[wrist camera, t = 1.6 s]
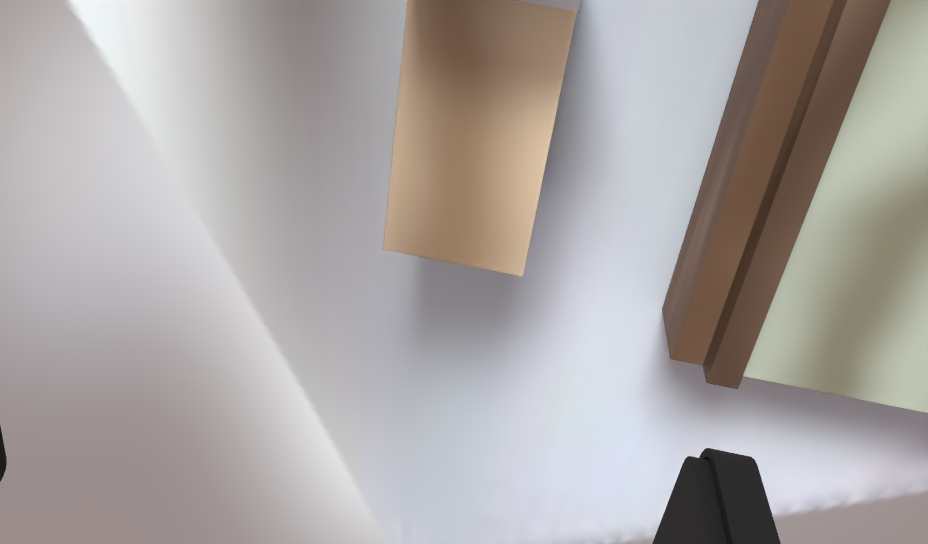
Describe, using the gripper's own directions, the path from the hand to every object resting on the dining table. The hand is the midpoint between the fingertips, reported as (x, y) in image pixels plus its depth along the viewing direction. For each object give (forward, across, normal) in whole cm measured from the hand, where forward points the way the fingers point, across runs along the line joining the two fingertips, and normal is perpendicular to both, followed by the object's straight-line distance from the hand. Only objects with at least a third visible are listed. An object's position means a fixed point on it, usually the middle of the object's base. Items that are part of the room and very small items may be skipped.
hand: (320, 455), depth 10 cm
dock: (+23, -16, 0) cm, 28 cm away
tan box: (+23, 0, 0) cm, 23 cm away
